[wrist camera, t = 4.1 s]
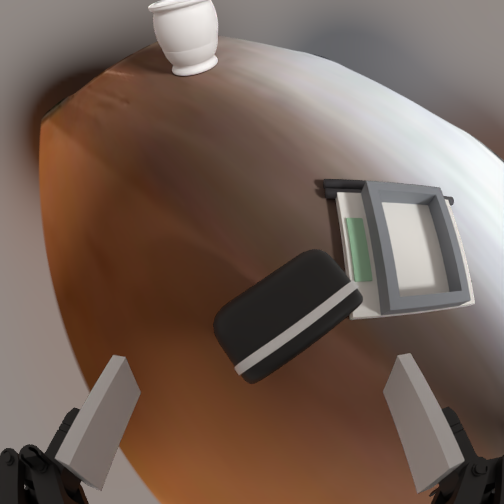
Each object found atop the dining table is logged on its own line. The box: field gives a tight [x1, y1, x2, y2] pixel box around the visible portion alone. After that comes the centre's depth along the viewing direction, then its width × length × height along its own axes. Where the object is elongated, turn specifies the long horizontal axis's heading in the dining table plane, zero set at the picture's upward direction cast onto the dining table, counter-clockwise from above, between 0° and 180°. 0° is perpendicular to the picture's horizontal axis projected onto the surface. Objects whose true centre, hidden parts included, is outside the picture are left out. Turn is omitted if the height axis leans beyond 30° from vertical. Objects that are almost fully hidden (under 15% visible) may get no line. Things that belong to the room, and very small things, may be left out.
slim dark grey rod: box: [323, 179, 454, 205], centre depth 25 cm, size 16×2×1 cm, turn 89°
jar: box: [148, 0, 218, 76], centre depth 33 cm, size 11×10×15 cm
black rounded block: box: [213, 249, 363, 384], centre depth 16 cm, size 7×4×11 cm, turn 124°
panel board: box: [335, 181, 475, 320], centre depth 22 cm, size 14×12×3 cm
